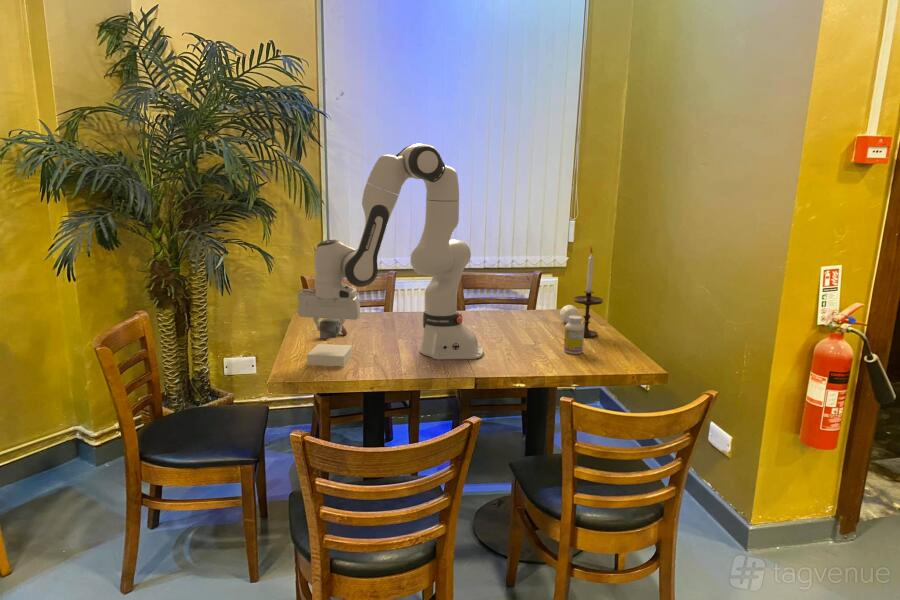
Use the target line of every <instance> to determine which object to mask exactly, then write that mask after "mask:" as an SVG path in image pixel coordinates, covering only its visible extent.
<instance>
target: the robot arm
mask: <svg viewBox="0 0 900 600" xmlns="http://www.w3.org/2000/svg"><path fill="white" fill-rule="evenodd" d="M409 178H413V179H416V180H422V181H423V182H424V185H425V189H426V194H425V196H426V197H425V201H426V202H425V219H424V220H425V221H424V222H425V223H424V228H423V231H422V234H421V237H420V239H419V242H418V244H417V246H415V247H414V248H413V250H412V252H411V254H410V266H411V267H412V270H413V271H414V272H415V273H416V274H418V275H421V276H429V277H430V276H431V280H430V282H429V284H428V285H427V287H426V288H425V290H424V312H423V314H422V325H423V333H422V334H423V335H422V341H421V344H420V348H419V353H421V354H422V355H423V356H427V357H430V358H431V359H434V360H478V359H480V358H482V357H483V356H484V352H485V351H484V347H483V346H482V345H480V344H478V343H479V341H478V338H477V335H476V334H475V332H474V331H473V330H471V328H469V327H467V326H466V325H465V324H463V319H464V318H463V315H462V313H459V312H458V311H457V305H458V304H457V303H458V302H457V301H458V298H457V297H458V291H459V290H458V289H459V284H460V281H461V279H462V275H463V272H464V270H465V268H466V266H467V265H468V264H469V263H470V261H471V255H472V252H471V249H470V246H469V245H468V244H467V243H466V242H465V241H463V240H459V239H451V237H452V235H453V232H454V231H455V229H456V228H457V227H458V224H459V221H460V220H459V219H460V217H459V216H460V215H459V214H460V185H459V178H458V173H457V171H456V170H455V169H454V168H453V167H451V166H447V165H446V164H445V163H444V160H443V159H442V156H441V154H440V152H439V150H438V149H436V148H435V147H434V146H432V145H430V144H423V143H415V144H409V145H407V146H406V147H404V148H403V149H402V150H401V151H400V152H398V153H397V154H396V155H392V154H383V155H381V156H379V157H378V159H377V160H376V162H375V163H374V166H373V167H372V169H371V171H370V173H369V175H368V178H367V181H366V184H365V186H364V189H363V194H362V198H361V199H362V201H361V205H362V209H363V212H364V216H365V218H364V219H365V221H364V222H365V224H364V225H365V226H364V229H363V233H362V234H361V239H360V241H359V244H358V248H353V247H351V246H348V245H347V244H344V243H343V242H341V241H340V240H338V239H327V240H323V241H321V242H319V243H318V244H317V245H316V247H315V252H314V270H315V279H314V288H308V289H307V288H302V289H301V290H299V291H298V293H297V299H298V306H297V315H299V317H300V318H313V319H312V320H313V322H314V323H315V325H316V330H317V331H319V332H320V321H319V320H320V319H339V322H341V323H340V325H338V326H337V327H336V329H337V330H336V332H339V333H341V331H342V325H343V326H344V323H345V322H346V320H348V321H349V320H350V321H351V320H354V321H357V320H359V318H360V317H361V304H360V299H359V297H358V296H357V293H358V290H357V288H355V287H360V288H363V287H366V286H369V285H371V284H372V283H373V282H374V281H375V280H376V278H377V275H378V267H379V266H378V255H379V252H380V249H381V245H382V242H383V240H384V235H385V233H386V229H387V226H388V222H389V220H390V218H391V215H392V213H393V211H394V208H395V206H396V204H397V202H398V199H399V196H400V193H401V190H402V187H403V186H404V184H405V182H406V181H407V180H408V179H409ZM344 279H346V280H347V281H348V282H349V283H350V284H351V285H352V286H350V285H348V284H345V283H344V282H343V280H344ZM353 286H354V287H353ZM477 358H478V359H477Z"/></svg>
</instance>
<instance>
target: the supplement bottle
mask: <svg viewBox="0 0 900 600" xmlns="http://www.w3.org/2000/svg"><path fill="white" fill-rule="evenodd" d="M568 320H569V323H565V326H564V342H563V350H564V352H565V353H566V354H569V353H570V354H571V355H580V354H581V353H582V354H583V351H584V341H585V340H584V339H585V338H584V327H585V324H584V323H582V322H583V317H582V316H581V315H579V316H574V315H573V316H569V319H568Z"/></svg>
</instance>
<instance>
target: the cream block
mask: <svg viewBox="0 0 900 600" xmlns="http://www.w3.org/2000/svg"><path fill="white" fill-rule="evenodd" d="M353 348H354V347H353V345H350V344H349V345H348V344H345V345H344V344H328V343H317V344H316V345H315V346H314V347H313V348H312V349H311V351H309V352H308V353H307V354H306V355H307V356H306V357H307V360H306V361H307V366H313V365H323V366H322V367H333V366H340V367H339V368H344V367H345V366H346V365H347V364H346V363H349V361H350V360H351V359H352V357H353V355H354V354H353V350H354V349H353ZM349 359H350V360H349ZM345 364H346V365H345Z"/></svg>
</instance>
